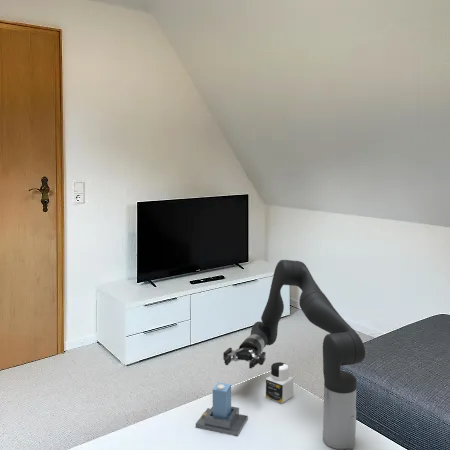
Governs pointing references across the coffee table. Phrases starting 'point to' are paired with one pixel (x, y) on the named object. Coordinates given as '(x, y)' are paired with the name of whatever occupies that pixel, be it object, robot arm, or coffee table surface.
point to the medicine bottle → (279, 383)
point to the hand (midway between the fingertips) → (238, 364)
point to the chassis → (223, 422)
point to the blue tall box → (222, 400)
